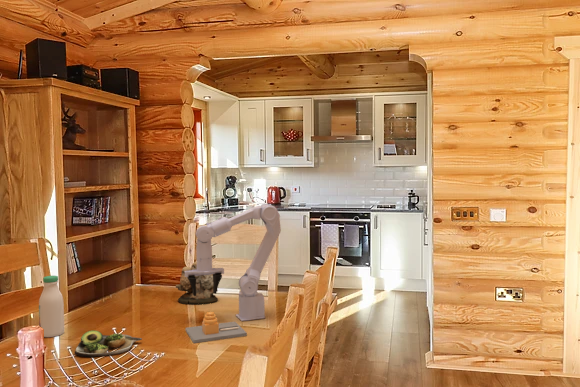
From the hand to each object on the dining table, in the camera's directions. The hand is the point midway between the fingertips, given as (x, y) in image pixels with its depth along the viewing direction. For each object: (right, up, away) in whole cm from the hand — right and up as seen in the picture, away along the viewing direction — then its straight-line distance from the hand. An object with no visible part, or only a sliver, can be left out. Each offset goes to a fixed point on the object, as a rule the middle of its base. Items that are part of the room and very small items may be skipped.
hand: (204, 294), depth 182 cm
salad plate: (-27, -12, -27) cm, 40 cm away
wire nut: (+5, -10, -16) cm, 19 cm away
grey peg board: (+6, -10, -14) cm, 19 cm away
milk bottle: (-50, -11, -14) cm, 53 cm away
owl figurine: (-8, -9, +28) cm, 31 cm away
